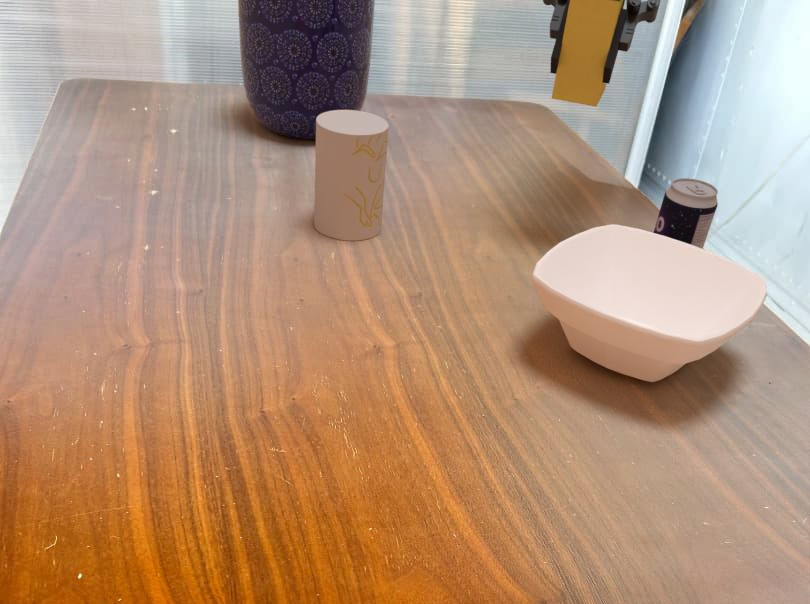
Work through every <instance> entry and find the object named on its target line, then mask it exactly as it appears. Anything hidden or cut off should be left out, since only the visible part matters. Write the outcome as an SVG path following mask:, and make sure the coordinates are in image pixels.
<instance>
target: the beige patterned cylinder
mask: <svg viewBox="0 0 810 604" xmlns="http://www.w3.org/2000/svg"><path fill="white" fill-rule="evenodd" d="M389 125H390V124H389V122H388V121H387V119H385V118H384V117H382V116H379V115H378V114H375V113H371V112H367V111H363V110H361V111H356V110H333V111H328V112H324V113H322V114H320V115H318V116H317V118H316V139H315V153H314V155H315V156H314V157H315V159H314V161H315V162H314V199H313V201H314V206H313V210H314V211H313V226H314V228H315V230H317V232H319V233H320V234H321V235H323V236H325V237H328V238H331V239H335V240H340V241H348V242H349V241H350V242H351V241H352V242H355V241H365V240H369V239H372V238H374V237H376V236H378V235H379V234H380V233H381V231H382V220H383V207H384V205H383V204H384V196H385V195H384V193H385V182H386V181H385V179H386V169H387V153H388V139H389V127H390V126H389Z"/></svg>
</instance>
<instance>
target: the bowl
mask: <svg viewBox="0 0 810 604" xmlns="http://www.w3.org/2000/svg"><path fill="white" fill-rule="evenodd" d="M530 279H531V282H532V285H533V286H534V289H535V291H536V293H537V296H538V298H539V300H540V302H541V305H542V307H543V308H544V309H545V310H546V311H547V312H548V313H549V314H550V315H553V317H555V318H556V319H557V320H558V321H559V324H560V326H561V328H562V330H563V332H564V335H565V337H566V339H567V342H568V344H569V346H570V348H571V349H573V350H574V351H575V352H576V353H578V354H580V355H581V356H583V357H585V358H587V360H588V359H589V360H590V361H592V362H594V363H596V364H597V365H600V366H601V367H604V368H606V369H608V370H611V371H613V372H616V373H619V374H621V375H625V376H627V377H631V378H635V379H638V380H641V381H645V382H649V383H654V382H658V381H660V380H663V379H665V378H667V377H668V376H671V375H672V374H674V373H676V372H677V371H679V370H680V369H681V368H683V367H684V366H685V365H686V364H689V363H692V362H696V361H698V360H700V359H702V358H704V357H706V356H708V355H709V354H712V353H713V352H715V351H716V350H718V349H719V348H721V347H722V346H724V344H725V343H727V342H728V341H729V340H731V339H732V338H733V337H735V336H736V335H737V334H738V333H740V332H741V331H742V330H743V329H745V328H747V326H748V325H749V324H751V323H752V322H753V321H754V319H755V318H756V317H757V315H758V314H759V312H760V311H761V309H762V307H763V305H764V303H765V301H766V298H767V296H768V290H767V280H766V278H764V277H763V276H761V275H759V274H758V273H756V272H754V271H753V270H751V269H749V268H747V267H746V266H744V265H741V264H740V263H737V262H735V261H733V260H730V259H728V258H726V257H725V256H721V255H719V254H716V253H714V252H711V251H709V250H706V249H704V248H703V249H701V248H699V247H696V246H694V245H690V244H687V243H684V242H681V241H678V240H675V239H672V238H669V237H666V236H663V235H659V234H656V233H653V232H652V231H648V230H645V229H641V228H637V227H632V226H626V225H622V224H615V223H613V224H612V223H611V224H605V225H601V226H600V225H599V226H595V227H591V228H589V229H587V230H584V231H582V232H578V233H576V234H574V235H572V236H570V237H568V238H566V239H564V240H562V241H560V242H558V243H557V244H556V245H554V246H553V247H552V248H551V249H549V250H548V251H547V252H546V253H545V254H544V255H543V256H541V258H540V259H539V260H538V261H537V262H536V263H535V265H534V268H533V271H532V274H531V278H530Z"/></svg>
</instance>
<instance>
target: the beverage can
mask: <svg viewBox="0 0 810 604" xmlns="http://www.w3.org/2000/svg"><path fill="white" fill-rule="evenodd" d="M718 194H719V190H718V189H717V187H716V186H715V185H713V184H711V183H709V182H707V181H704V180H700V179H696V178H691V177H690V178H689V177H681V178H676V179H674V180H672V182H671V185H670V186H669V188H668V189H667V190H666V191H665V193H664V195H663V199H662V202H661V204H660V209H659V211H658V214H657V219H656V223H655V226H654V229H653V232H652V233H656V234H659V235H663V236H666V237H669V238H672V239H675V240H678V241H681V242H684V243H687V244H690V245H694V246H696V247H699V248H701V249H704V247H705V243H706V240H707V237H708V235H709V233H710V232H709V231H710V229H711V226H712V223H713V220H714V216H715V214H716V212H717V208H718V205H719V204H718V203H719V202H718V197H717V195H718Z"/></svg>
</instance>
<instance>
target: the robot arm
mask: <svg viewBox="0 0 810 604" xmlns="http://www.w3.org/2000/svg"><path fill="white" fill-rule="evenodd" d="M542 2H543V4H544V5H545V6H552V7H553V8H554V9H553V12H552V16H551V18H550V19H551V20H550V23H549V39H553V40H555V42H554V45H553V49H552V54H551V55H550V72H549V73H550V74H554V75H556V72H557V69H558V63H559V58H560V53H561V47H562V40H563V35H564V29H565V24H566V19H567V14H568V8H569V3H570V0H542ZM625 2H626V3H625V4H626V6H625V8H623V9H621V10H620V13H619V17H618V20H617V24H616V28H615V31H614V35H613V38H612V42H611V46H610V49H609V52H608V56H607V59H606V63H605V66H604V73H603V83H606V84H610V82H611V78H612V75H613V71H614V68H615V64H616V61H617V58H618V57H617V56H618V53H619V51H621V52H628V51H629V50H630V49H631V47H632V46H631V45H632V42H633V38H634V35H635V32H636V27H637V25H638V24H639V23H641V22H646V23H648V24H652V23H654V22H655V21H656V19H657V16H658V12H659V8H660V4H661V0H645V1H642V0H625Z"/></svg>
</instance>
